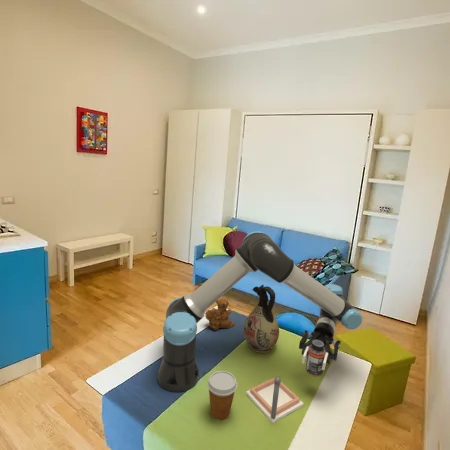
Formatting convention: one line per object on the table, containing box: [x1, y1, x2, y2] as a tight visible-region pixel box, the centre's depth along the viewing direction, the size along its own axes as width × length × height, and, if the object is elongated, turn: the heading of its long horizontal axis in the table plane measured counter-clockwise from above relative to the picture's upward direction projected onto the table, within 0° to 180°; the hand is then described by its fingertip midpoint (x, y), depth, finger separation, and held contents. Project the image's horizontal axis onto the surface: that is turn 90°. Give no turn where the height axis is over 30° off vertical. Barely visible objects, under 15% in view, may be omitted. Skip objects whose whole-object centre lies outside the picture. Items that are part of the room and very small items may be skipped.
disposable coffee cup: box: [207, 370, 238, 421], centre depth 99 cm, size 10×10×12 cm
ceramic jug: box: [243, 284, 280, 354], centre depth 132 cm, size 17×15×30 cm
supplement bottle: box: [305, 340, 326, 377], centre depth 108 cm, size 6×6×11 cm
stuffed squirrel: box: [204, 298, 235, 331], centre depth 149 cm, size 10×14×13 cm
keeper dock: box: [245, 376, 305, 424], centre depth 105 cm, size 14×14×16 cm
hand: (313, 362), depth 103 cm, fingers closed on supplement bottle, 6 cm apart
